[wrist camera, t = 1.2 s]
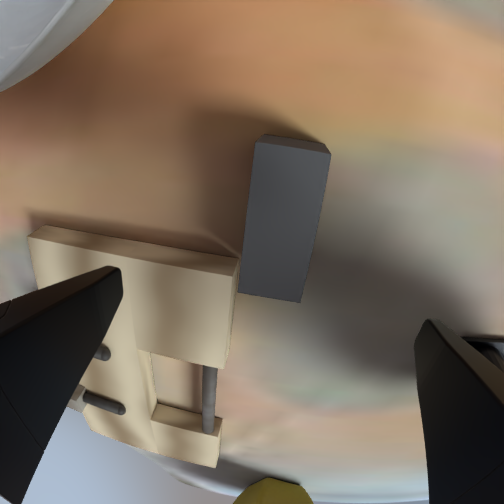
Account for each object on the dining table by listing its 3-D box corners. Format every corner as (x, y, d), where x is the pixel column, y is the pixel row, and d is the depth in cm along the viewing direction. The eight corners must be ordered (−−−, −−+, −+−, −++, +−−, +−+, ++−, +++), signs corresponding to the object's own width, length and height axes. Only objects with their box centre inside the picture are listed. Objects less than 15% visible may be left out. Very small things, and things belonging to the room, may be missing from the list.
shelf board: (238, 258, 18) (225, 296, 15) (219, 452, 29) (212, 482, 25) (44, 224, 19) (9, 248, 16) (98, 417, 30) (84, 442, 26)
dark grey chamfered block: (324, 143, 15) (331, 154, 12) (300, 267, 18) (300, 302, 15) (264, 133, 15) (255, 141, 12) (248, 258, 18) (237, 292, 15)
